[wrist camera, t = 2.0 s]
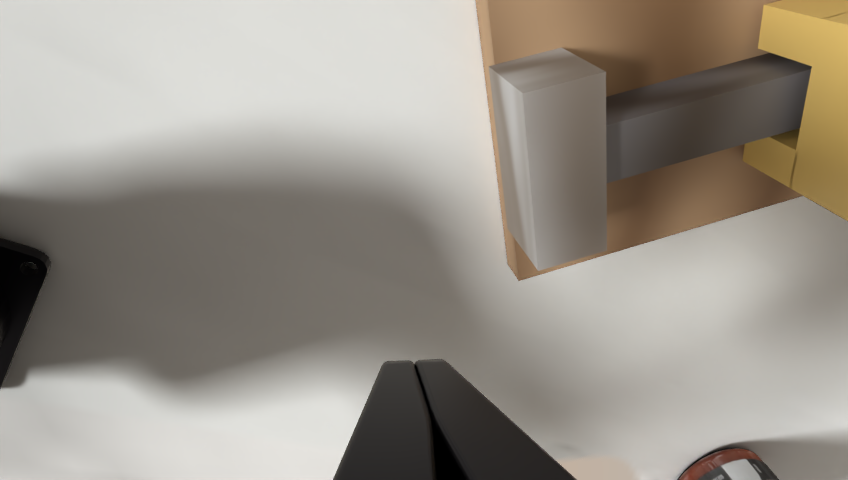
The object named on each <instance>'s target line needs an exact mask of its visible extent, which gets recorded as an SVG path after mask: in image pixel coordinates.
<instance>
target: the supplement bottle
mask: <svg viewBox="0 0 848 480" xmlns="http://www.w3.org/2000/svg"><path fill="white" fill-rule="evenodd" d="M679 480H779V479H778V478H777V477H776V475H775V474H774V473H773V472H772V471H771V470H770V469H769V467H768V466H767V465H766V464H765V463H764V462H763V461H762V460H761V459H760V458H759V457H758V456H757V455H756V454H755V453H753V452H752V451H749V450H746V449H738V448H736V449H725V450H721V451H717V452H715V453H712V454H710V455H707V456H706V457H704V458H702V459H700V460H699V461H697V462H696V463H694V464H693V465H692V466H691V467H689V468H688V469H687V470H686V471H685V472H684V473H683V474H682V475H681V477H680V478H679Z"/></svg>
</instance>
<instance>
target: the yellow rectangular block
mask: <svg viewBox="0 0 848 480" xmlns="http://www.w3.org/2000/svg"><path fill="white" fill-rule="evenodd" d="M758 49H761V50H764V51H767V52H770V53H773V54H776V55H779V56H782V57H785V58H788V59H791V60H794V61H797V62H800V63H803V64H806V65H809V66H812V68H811V73H810V79H809V84H808V89H807V94H806V100H805V105H804V110H803V116H802V121H801V126H800V128H798V129H795V130H791V131H788V132H784V133H781V134H777V135H774V136H770V137H767V138H764V139H760V140H757V141H753V142H750V143H746V144H745V146H744V153H743V160H742V161H744V162H745V163H747V164H749V165H751V166H752V167H754V168H756V169H758V170H759V171H761V172H763V173H764V174H766V175H768V176H770V177H771V178H773V179H775V180H777V181H778V182H780V183H782V184H784V185H785V186H787V187H789V188H791V189H792V190H794V191H796V192H798V193H799V194H801V195H803V196H805V197H806V198H808V199H810V200H812V201H813V202H815V203H817V204H819V205H820V206H822V207H824V208H826V209H827V210H829V211H831V212H832V213H834V214H836V215H838V216H839V217H841V218H843V219H845V220H846V221H848V0H780V1H777V2H773V3H769V4H765V5H764V6H763V14H762V21H761V28H760V36H759V43H758Z"/></svg>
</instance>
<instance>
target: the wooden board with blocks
mask: <svg viewBox="0 0 848 480" xmlns="http://www.w3.org/2000/svg"><path fill="white" fill-rule="evenodd" d="M777 1H780V0H476V8H477V16H478V24H479V32H480V41H481V49H482V57H483V65H484V73H485V81H486V90H487V98H488V106H489V114H490V122H491V131H492V139H493V147H494V155H495V163H496V171H497V180H498V188H499V196H500V204H501V212H502V221H503V229H504V237H505V245H506V253H507V261H508V265H509V267H510V268H511V270H512V271H513V273H514V274H515V276H516V277H517V279H518V280H519V281H520V280H523V279H527V278H530V277H533V276H537V275H540V274H543V273H547V272H550V271H553V270H557V269H560V268H563V267H567V266H570V265H573V264H577V263H580V262H583V261H587V260H590V259H593V258H597V257H600V256H603V255H607V254H610V253H614V252H617V251H620V250H624V249H627V248H630V247H634V246H637V245H640V244H644V243H647V242H650V241H654V240H657V239H660V238H664V237H667V236H670V235H674V234H677V233H680V232H684V231H687V230H690V229H694V228H697V227H700V226H704V225H707V224H710V223H714V222H717V221H720V220H724V219H727V218H730V217H734V216H737V215H740V214H744V213H747V212H750V211H754V210H757V209H760V208H764V207H767V206H770V205H774V204H777V203H780V202H784V201H787V200H790V199H794V198H797V197H800V196H803V195H801V194H799V193H798V192H796V191H794V190H792V189H791V188H789V187H787V186H785V185H784V184H782V183H780V182H778V181H777V180H775V179H773V178H771V177H770V176H768V175H766V174H764V173H763V172H761V171H759V170H758V169H756V168H754V167H752V166H751V165H749V164H747V163H745V162H744V161H742V160H743V153H744V146H745V144H746V143H750V142H753V141H757V140H760V139H764V138H767V137H770V136H774V135H777V134H781V133H784V132H788V131H791V130H795V129H798V128H800V126H801V121H802V116H803V110H804V105H805V100H806V94H807V89H808V84H809V79H810V73H811V68H812V66H809V65H806V64H803V63H800V62H797V61H794V60H791V59H788V58H785V57H782V56H779V55H776V54H773V53H770V52H767V51H764V50H761V49H758V43H759V36H760V28H761V21H762V14H763V6H764V5H765V4H769V3H773V2H777Z"/></svg>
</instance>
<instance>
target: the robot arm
mask: <svg viewBox="0 0 848 480" xmlns="http://www.w3.org/2000/svg"><path fill="white" fill-rule="evenodd" d="M24 262H32V263H34V264H36V266H37V267H38V268H36V269H33V268H29V267H27V266H26V265H25V263H24ZM50 267H51V261H50V259H49V257H48V256H47V255H46V254H45V253H44V252H42V251H39V250H37V249H34V248H31V247H28V246H24V245H21V244H18V243H15V242H12V241H8V240H5V239H2V238H0V389H1V387H2V385H3V382H4V380H5V378H6V375H7V373H8V370H9V368H10V365H11V363H12V360H13V358H14V355H15V353H16V351H17V348H18V346H19V343H20V341H21V338H22V336H23V333H24V331H25V328H26V326H27V324H28V321H29V319H30V316H31V314H32V311H33V309H34V306H35V304H36V301H37V299H38V297H39V294H40V292H41V289H42V287H43V284H44V282H45V279H46V277H47V274H48V272H49V270H50ZM333 480H576V479H575V478H574V477H573V476H572V475H571V474H570V473H569V472H568V471H567V470H565V469H564V468H563V467H562V466H561V465H560V464H559V463H558V462H557V461H555V460H554V459H553V458H552V457H551V456H550V455H549V454H548V453H547V452H546V451H544V450H543V449H542V448H541V447H540V446H539V445H538V444H537V443H536V442H535V441H533V440H532V439H531V438H530V437H529V436H528V435H527V434H526V433H525V432H523V431H522V430H521V429H520V428H519V427H518V426H517V425H516V424H515V423H514V422H512V421H511V420H510V419H509V418H508V417H507V416H506V415H505V414H504V413H503V412H501V411H500V410H499V409H498V408H497V407H496V406H495V405H494V404H493V403H491V402H490V401H489V400H488V399H487V398H486V397H485V396H484V395H483V394H482V393H480V392H479V391H478V390H477V389H476V388H475V387H474V386H473V385H472V384H471V383H469V382H468V381H467V380H466V379H465V378H464V377H463V376H462V375H461V374H459V373H458V372H457V371H456V370H455V369H454V368H453V367H452V366H451V365H450V364H448V363H447V362H446V361H444V360H442V359H434V360H418V361H416V362H415V364H413V362H411V361H408V360H407V361H387V362H384V363H383V365H382V366H381V369H380V371H379V373H378V376H377V378H376V380H375V383H374V385H373V387H372V390H371V392H370V394H369V397H368V399H367V401H366V404H365V406H364V408H363V411H362V413H361V415H360V418H359V420H358V422H357V425H356V427H355V429H354V432H353V434H352V436H351V439H350V441H349V443H348V446H347V448H346V450H345V453H344V455H343V457H342V460H341V462H340V464H339V467H338V469H337V471H336V474H335V476H334V478H333Z"/></svg>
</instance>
